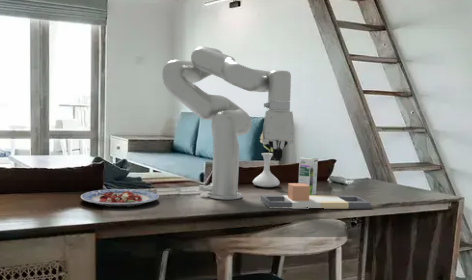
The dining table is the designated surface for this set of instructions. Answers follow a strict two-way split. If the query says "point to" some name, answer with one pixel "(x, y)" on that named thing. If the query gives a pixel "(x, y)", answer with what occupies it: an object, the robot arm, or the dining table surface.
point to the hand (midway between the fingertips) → (277, 160)
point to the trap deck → (317, 202)
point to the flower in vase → (266, 171)
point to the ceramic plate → (119, 197)
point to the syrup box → (308, 172)
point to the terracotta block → (298, 191)
